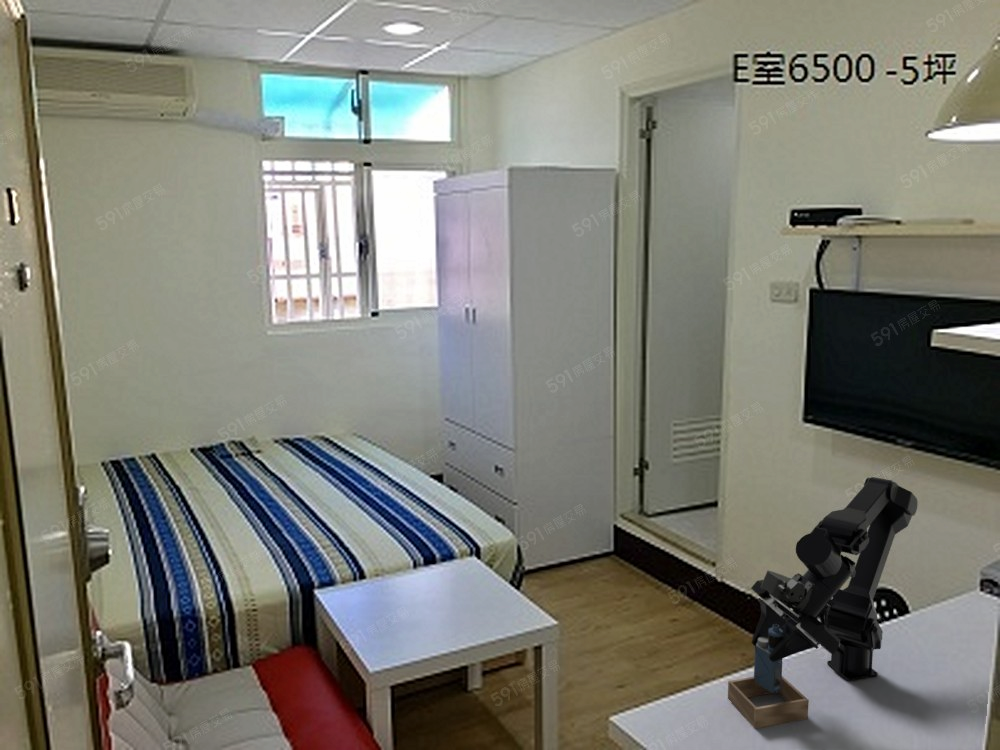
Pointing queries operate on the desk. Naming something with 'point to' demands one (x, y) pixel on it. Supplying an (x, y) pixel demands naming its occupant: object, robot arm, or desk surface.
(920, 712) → the desk surface
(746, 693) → the box
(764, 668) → the vaping device
